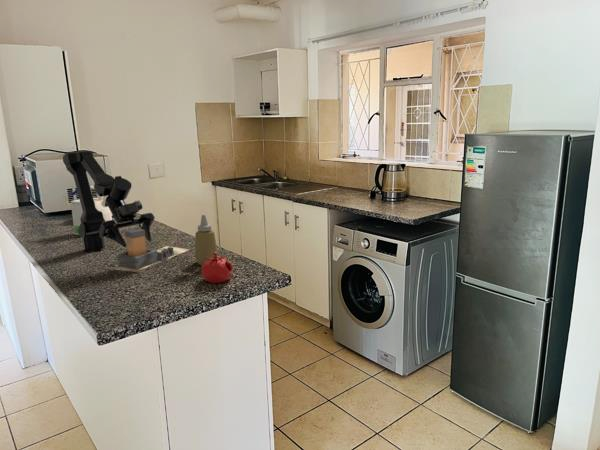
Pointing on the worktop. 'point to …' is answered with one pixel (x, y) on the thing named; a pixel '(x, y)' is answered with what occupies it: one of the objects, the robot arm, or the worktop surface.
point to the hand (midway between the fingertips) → (138, 243)
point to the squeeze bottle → (204, 242)
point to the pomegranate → (217, 269)
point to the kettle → (100, 206)
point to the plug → (136, 242)
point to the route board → (146, 258)
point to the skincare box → (76, 214)
